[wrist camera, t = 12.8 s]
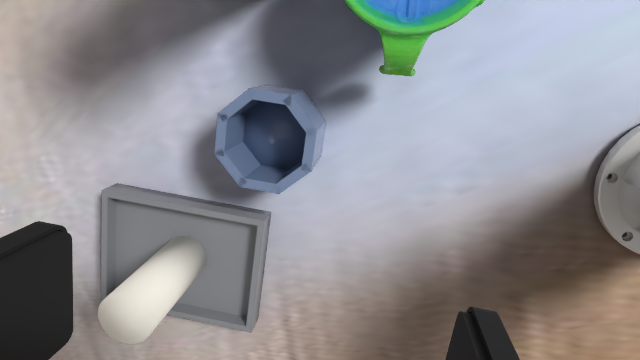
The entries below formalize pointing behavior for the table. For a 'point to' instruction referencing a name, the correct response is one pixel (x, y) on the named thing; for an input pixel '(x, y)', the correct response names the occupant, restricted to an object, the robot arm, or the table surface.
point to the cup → (269, 137)
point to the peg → (151, 291)
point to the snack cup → (408, 26)
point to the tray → (205, 227)
